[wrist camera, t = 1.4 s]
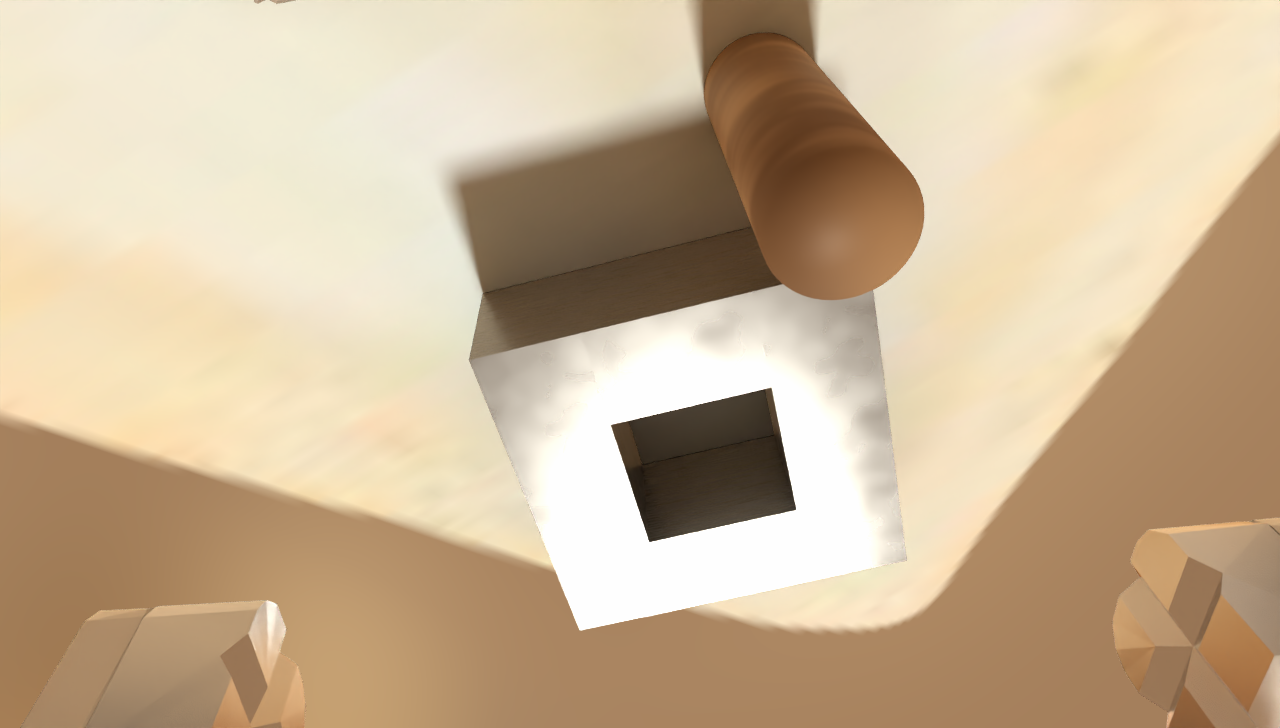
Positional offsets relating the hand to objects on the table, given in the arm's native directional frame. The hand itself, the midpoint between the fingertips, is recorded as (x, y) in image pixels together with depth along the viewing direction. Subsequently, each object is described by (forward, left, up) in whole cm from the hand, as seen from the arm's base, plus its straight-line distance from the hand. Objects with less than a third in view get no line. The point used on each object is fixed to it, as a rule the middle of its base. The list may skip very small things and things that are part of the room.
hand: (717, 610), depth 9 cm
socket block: (+1, +15, -26) cm, 30 cm away
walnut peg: (-4, +3, -26) cm, 27 cm away
